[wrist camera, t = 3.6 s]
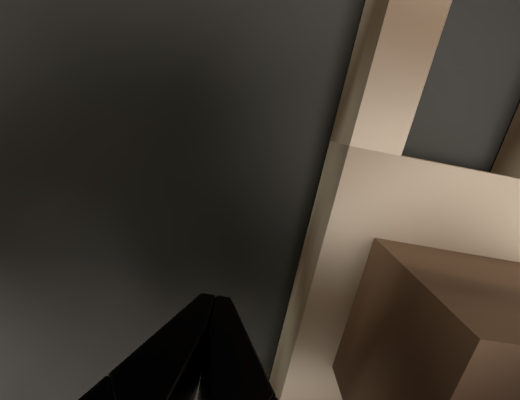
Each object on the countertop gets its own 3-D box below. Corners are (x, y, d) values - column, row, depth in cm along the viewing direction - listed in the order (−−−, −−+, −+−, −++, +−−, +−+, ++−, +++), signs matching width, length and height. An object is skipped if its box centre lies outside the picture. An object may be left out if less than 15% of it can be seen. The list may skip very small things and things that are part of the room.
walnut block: (464, 384, 10) (597, 551, 6) (332, 366, 10) (384, 531, 6) (524, 263, 9) (746, 378, 5) (374, 237, 8) (481, 339, 4)
